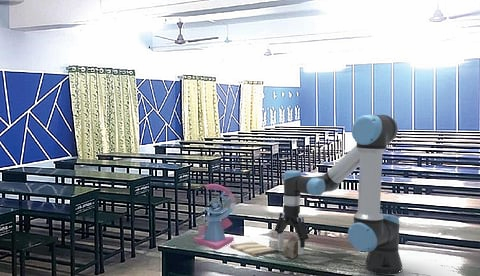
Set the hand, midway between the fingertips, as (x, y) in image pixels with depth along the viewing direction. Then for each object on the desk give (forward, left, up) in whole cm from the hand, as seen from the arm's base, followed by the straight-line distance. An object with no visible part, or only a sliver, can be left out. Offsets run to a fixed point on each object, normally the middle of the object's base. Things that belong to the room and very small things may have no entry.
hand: (290, 250), depth 232 cm
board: (+18, +7, -2) cm, 19 cm away
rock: (0, 0, -3) cm, 3 cm away
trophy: (+39, +16, -3) cm, 42 cm away
